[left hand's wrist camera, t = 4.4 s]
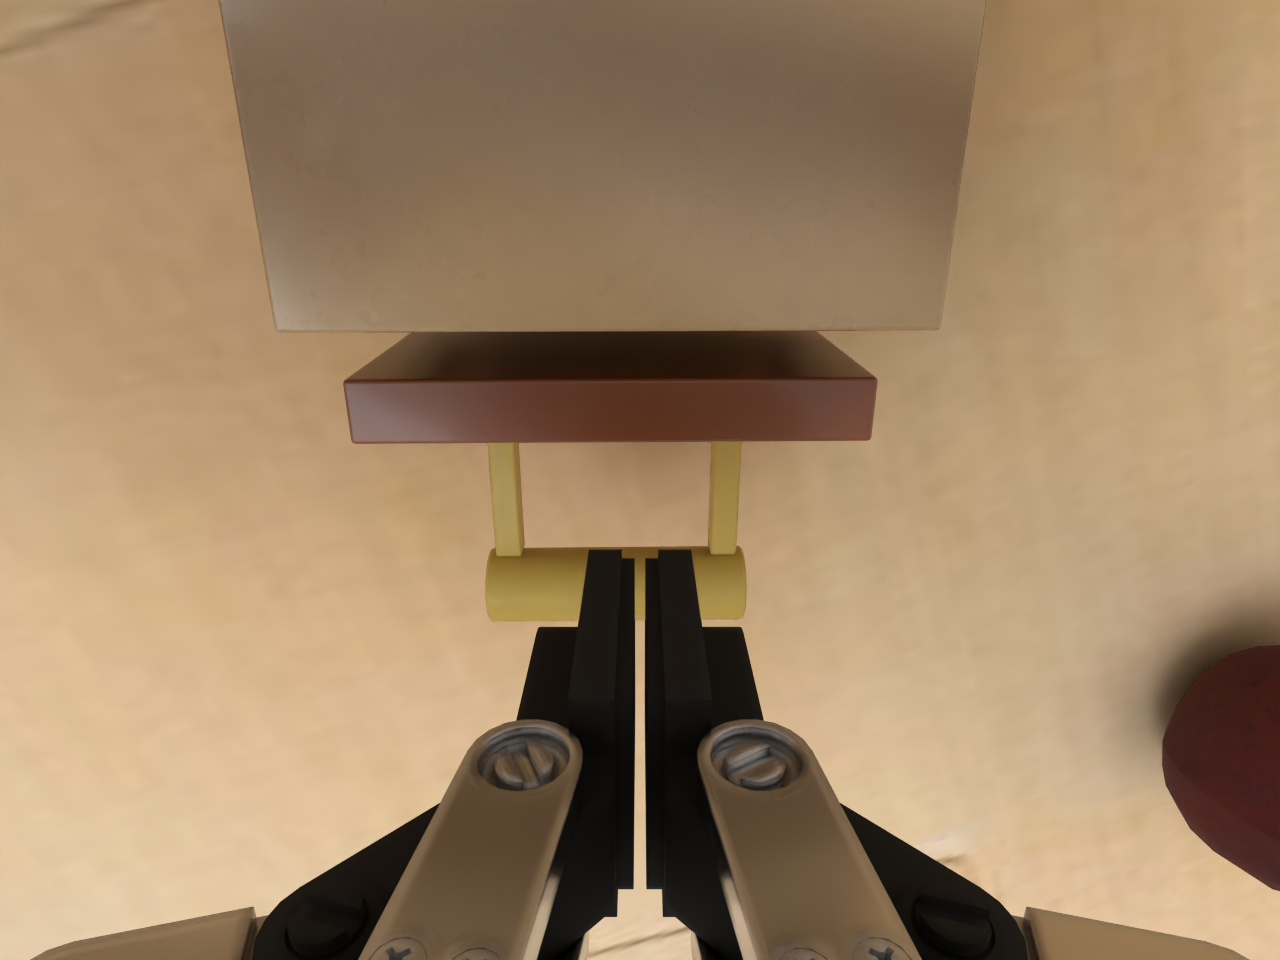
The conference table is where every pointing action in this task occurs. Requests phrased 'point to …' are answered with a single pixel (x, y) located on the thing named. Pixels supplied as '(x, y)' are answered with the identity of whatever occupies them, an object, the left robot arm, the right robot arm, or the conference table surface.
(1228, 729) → the dark maroon ball
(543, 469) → the conference table surface
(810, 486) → the conference table surface
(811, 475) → the conference table surface
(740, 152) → the cabinet
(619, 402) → the drawer
